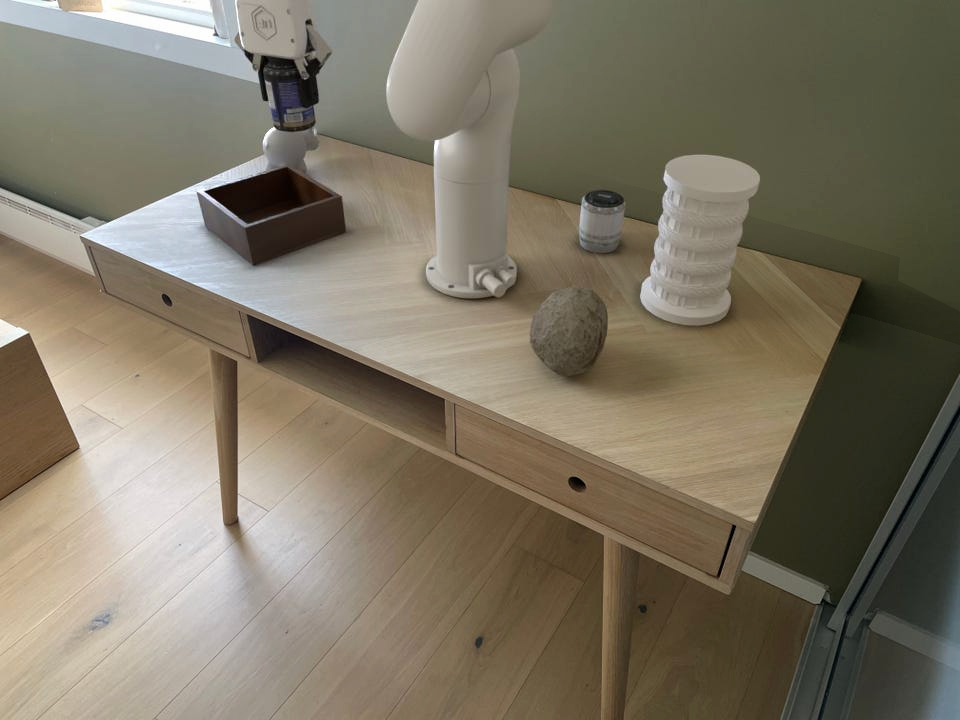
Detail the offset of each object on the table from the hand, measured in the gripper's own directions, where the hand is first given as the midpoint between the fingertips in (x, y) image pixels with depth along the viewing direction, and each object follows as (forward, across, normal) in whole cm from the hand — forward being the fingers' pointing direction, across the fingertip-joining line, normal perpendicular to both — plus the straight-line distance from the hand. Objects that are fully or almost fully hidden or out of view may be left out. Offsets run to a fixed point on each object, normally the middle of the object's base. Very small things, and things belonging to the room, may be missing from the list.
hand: (290, 100), depth 102 cm
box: (+18, -2, -6) cm, 19 cm away
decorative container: (+19, +59, +2) cm, 62 cm away
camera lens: (+19, +44, +12) cm, 49 cm away
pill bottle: (+4, 0, 0) cm, 4 cm away
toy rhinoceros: (+18, -13, +15) cm, 27 cm away
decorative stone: (+19, +49, -18) cm, 56 cm away
